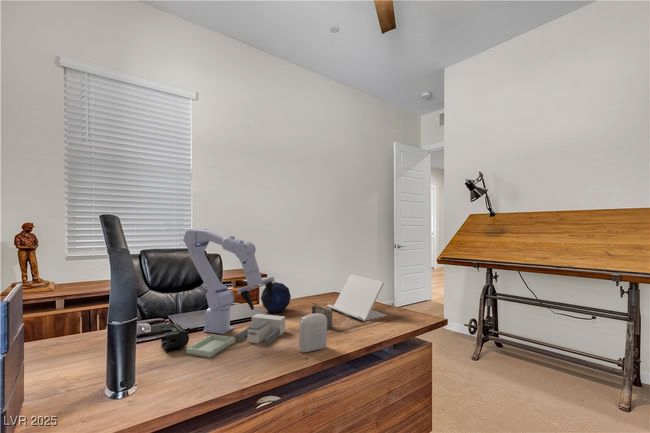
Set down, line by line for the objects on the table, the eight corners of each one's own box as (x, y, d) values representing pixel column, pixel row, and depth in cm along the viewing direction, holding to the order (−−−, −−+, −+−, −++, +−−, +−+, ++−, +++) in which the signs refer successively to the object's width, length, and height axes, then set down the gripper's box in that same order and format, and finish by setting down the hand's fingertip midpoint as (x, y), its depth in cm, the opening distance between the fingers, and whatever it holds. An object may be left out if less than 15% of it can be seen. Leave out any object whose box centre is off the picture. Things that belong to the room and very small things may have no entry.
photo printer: (321, 344, 120) (322, 310, 120) (328, 348, 117) (328, 313, 117) (297, 350, 115) (297, 314, 115) (303, 354, 111) (303, 317, 111)
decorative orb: (300, 298, 168) (283, 274, 170) (290, 305, 153) (272, 279, 155) (279, 313, 170) (263, 289, 172) (267, 322, 156) (250, 295, 158)
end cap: (188, 349, 114) (189, 329, 114) (166, 353, 110) (167, 333, 110) (181, 340, 122) (182, 322, 122) (160, 344, 118) (161, 325, 118)
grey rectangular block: (246, 342, 121) (246, 327, 121) (259, 334, 130) (259, 320, 130) (257, 344, 120) (257, 329, 120) (269, 335, 129) (269, 321, 129)
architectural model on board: (310, 323, 146) (311, 301, 146) (316, 322, 147) (316, 300, 147) (326, 330, 137) (326, 307, 137) (332, 329, 138) (332, 306, 139)
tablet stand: (353, 305, 178) (354, 273, 178) (387, 316, 157) (387, 281, 157) (326, 309, 167) (326, 276, 168) (358, 323, 147) (358, 285, 147)
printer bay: (236, 341, 122) (236, 325, 122) (257, 328, 137) (257, 313, 137) (266, 345, 118) (266, 329, 118) (285, 331, 134) (285, 316, 134)
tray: (186, 354, 110) (186, 348, 110) (212, 339, 123) (212, 334, 123) (210, 357, 107) (210, 351, 107) (234, 342, 120) (234, 337, 120)
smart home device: (190, 325, 135) (134, 335, 123) (190, 330, 135) (134, 339, 123) (185, 320, 142) (132, 329, 130) (185, 324, 142) (132, 333, 130)
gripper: (231, 278, 123) (241, 313, 121) (268, 265, 125) (279, 300, 122) (235, 278, 130) (245, 311, 128) (270, 266, 132) (281, 299, 129)
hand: (262, 306), depth 126 cm, fingers open, 7 cm apart
